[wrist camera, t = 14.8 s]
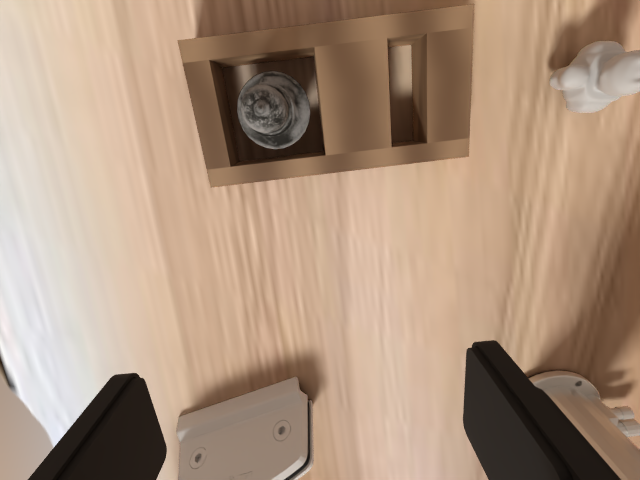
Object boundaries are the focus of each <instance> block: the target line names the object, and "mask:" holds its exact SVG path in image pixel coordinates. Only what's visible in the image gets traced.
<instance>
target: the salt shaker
mask: <svg viewBox="0 0 640 480" xmlns="http://www.w3.org/2000/svg"><path fill="white" fill-rule="evenodd" d="M237 113H238V118H239V122H240V124H241V126H242V129H243V131H244V132H245V133H246V134H247V136H248V137H249V138H250V139H251V140H253V141H254V142H255V143H256V144H258V145H261V146H263V147H265V148H271V149H280V148H285V147H288V146H290V145H292V144H294V143H295V142H296V141H298V140H299V139H300V138H301V136H302V135H303V134H304V132H305V131H306V128H307V126H308V123H309V118H310V105H309V100H308V98H307V95H306V92H305V91H304V90H303V88H302V87H301V85H300V84H299V83H298V82H297V81H296V80H295V79H293V78H292V77H291V76H288V75H286V74H284V73H281V72H276V71H269V72H262V73H260V74H258V75H255V76H254V77H252V78H251V79H250V80H249V81H248V82H247V83H246V84H245V86H244V87H243V89H242V90H241V92H240V95H239V98H238V105H237Z"/></svg>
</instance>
